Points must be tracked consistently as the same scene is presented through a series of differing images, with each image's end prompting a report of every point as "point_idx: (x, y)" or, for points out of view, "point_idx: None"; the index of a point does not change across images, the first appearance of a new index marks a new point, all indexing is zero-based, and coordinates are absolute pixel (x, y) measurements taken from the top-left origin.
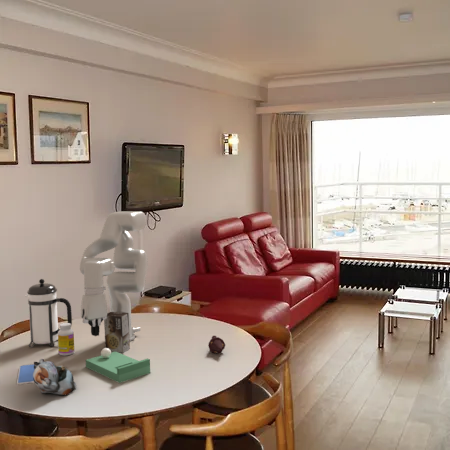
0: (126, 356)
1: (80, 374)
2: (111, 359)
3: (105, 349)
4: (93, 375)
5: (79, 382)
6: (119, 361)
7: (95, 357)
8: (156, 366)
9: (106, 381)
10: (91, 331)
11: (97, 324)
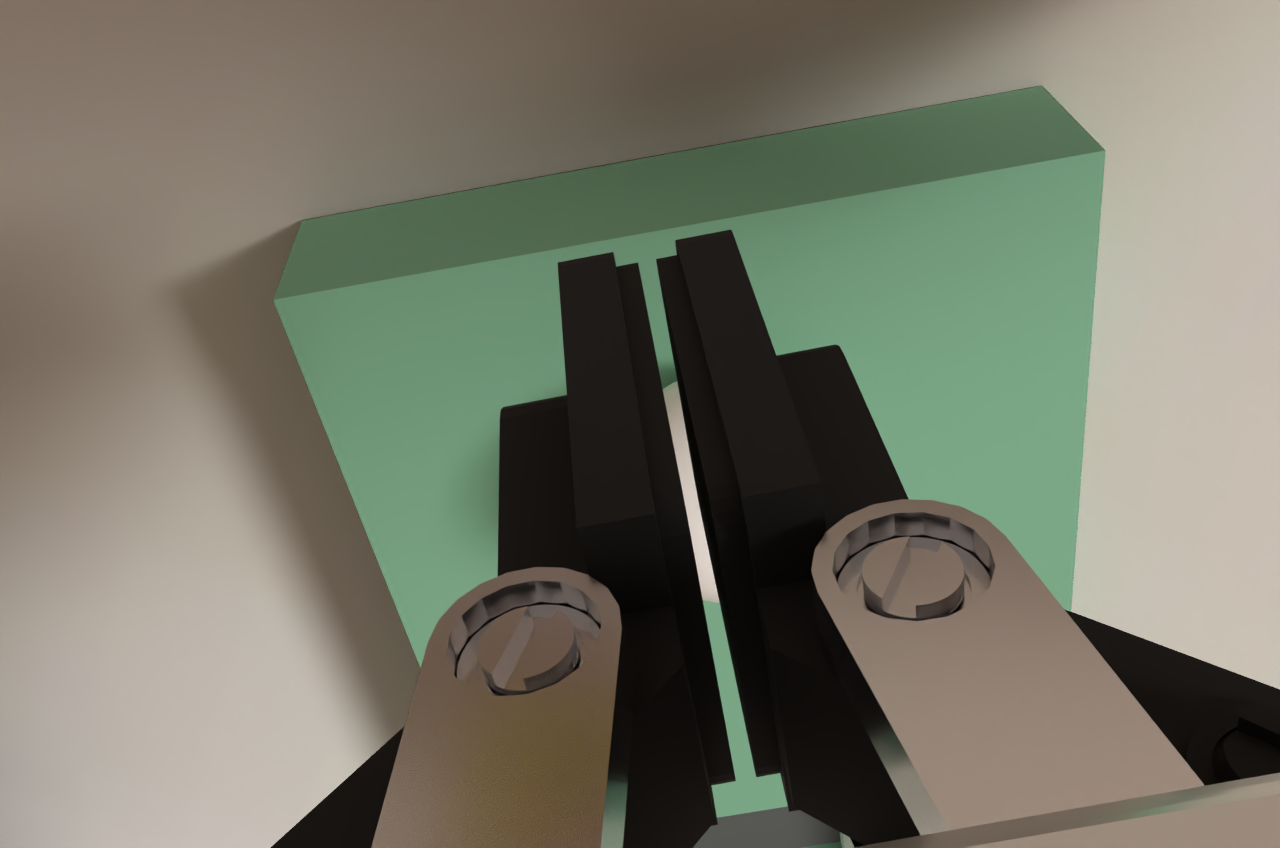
0: (1055, 546)
1: (134, 490)
2: None
3: (710, 593)
4: (332, 616)
5: (78, 730)
6: None
7: (525, 281)
8: None
9: None
10: (509, 476)
11: (840, 800)
